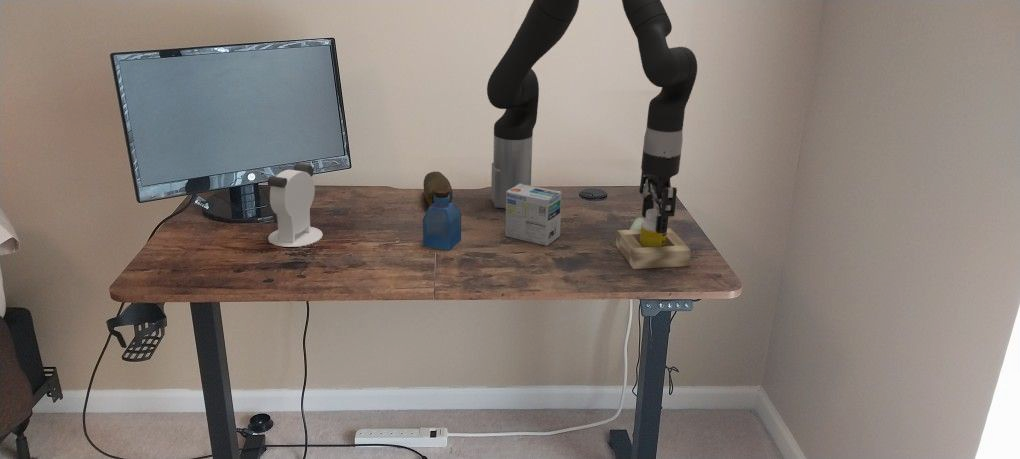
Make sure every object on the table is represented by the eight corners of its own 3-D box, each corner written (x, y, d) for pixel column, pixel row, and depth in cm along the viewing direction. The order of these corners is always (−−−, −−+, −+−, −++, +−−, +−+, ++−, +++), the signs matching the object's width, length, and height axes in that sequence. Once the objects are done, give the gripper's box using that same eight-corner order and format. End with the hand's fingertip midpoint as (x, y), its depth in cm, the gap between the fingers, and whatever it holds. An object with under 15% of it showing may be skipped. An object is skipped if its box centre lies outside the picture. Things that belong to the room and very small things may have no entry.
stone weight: (457, 212, 185) (457, 185, 183) (428, 214, 184) (427, 187, 181) (447, 191, 199) (446, 166, 196) (419, 192, 197) (419, 167, 194)
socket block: (633, 269, 158) (634, 253, 156) (615, 245, 169) (617, 230, 167) (689, 265, 160) (691, 250, 158) (668, 242, 171) (670, 227, 169)
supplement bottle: (664, 261, 161) (668, 217, 158) (637, 259, 162) (641, 215, 159) (664, 251, 166) (669, 208, 163) (638, 248, 167) (642, 206, 164)
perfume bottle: (461, 239, 170) (461, 187, 165) (449, 250, 164) (449, 197, 160) (435, 235, 172) (434, 183, 167) (423, 246, 166) (422, 193, 162)
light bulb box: (560, 236, 173) (563, 190, 168) (547, 247, 167) (549, 199, 163) (518, 226, 177) (519, 182, 173) (503, 236, 172) (504, 190, 168)
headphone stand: (290, 223, 176) (284, 159, 170) (334, 230, 173) (329, 166, 167) (257, 243, 166) (250, 176, 160) (303, 251, 162) (297, 183, 156)
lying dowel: (640, 232, 170) (628, 228, 171) (637, 242, 171) (625, 238, 172) (647, 219, 177) (636, 216, 178) (644, 229, 178) (633, 226, 179)
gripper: (632, 139, 161) (625, 212, 167) (656, 161, 148) (647, 239, 155) (667, 138, 162) (659, 211, 169) (693, 160, 149) (683, 237, 156)
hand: (653, 224), depth 162 cm, fingers open, 8 cm apart
